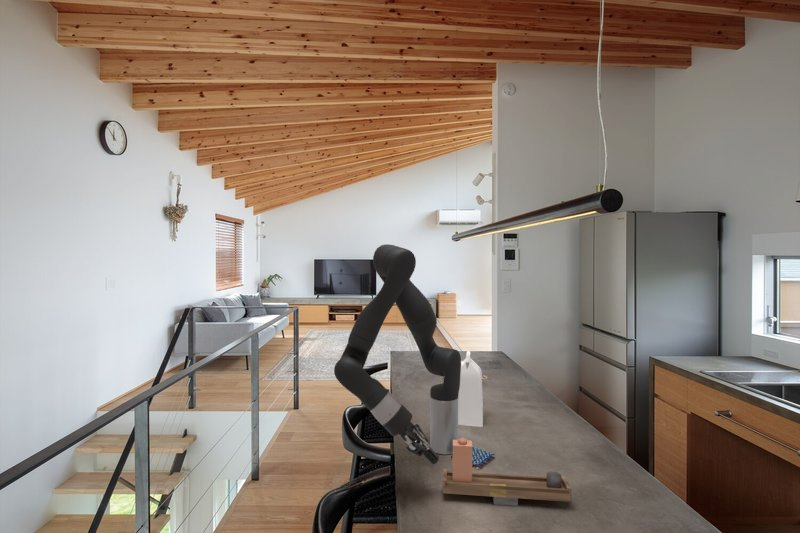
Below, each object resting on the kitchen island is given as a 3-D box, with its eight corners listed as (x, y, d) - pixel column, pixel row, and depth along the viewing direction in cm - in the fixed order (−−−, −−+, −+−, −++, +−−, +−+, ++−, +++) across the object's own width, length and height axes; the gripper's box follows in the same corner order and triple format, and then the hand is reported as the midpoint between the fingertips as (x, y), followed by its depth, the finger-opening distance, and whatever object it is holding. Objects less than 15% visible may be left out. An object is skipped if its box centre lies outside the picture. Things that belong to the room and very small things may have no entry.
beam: (443, 487, 116) (443, 462, 116) (564, 495, 112) (564, 469, 112) (442, 501, 110) (443, 474, 110) (571, 509, 106) (571, 482, 106)
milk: (482, 426, 158) (483, 357, 157) (451, 424, 160) (452, 355, 159) (483, 414, 169) (483, 350, 169) (454, 412, 172) (454, 348, 171)
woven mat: (466, 449, 140) (466, 443, 140) (495, 459, 133) (496, 453, 133) (449, 461, 132) (449, 454, 132) (479, 472, 125) (479, 465, 125)
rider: (452, 476, 114) (452, 435, 114) (471, 477, 114) (471, 436, 113) (452, 483, 111) (452, 441, 110) (472, 484, 110) (472, 442, 110)
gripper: (397, 413, 107) (446, 463, 106) (403, 395, 120) (446, 440, 119) (377, 432, 108) (425, 483, 107) (384, 413, 121) (427, 458, 120)
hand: (436, 460), depth 113 cm, fingers closed
